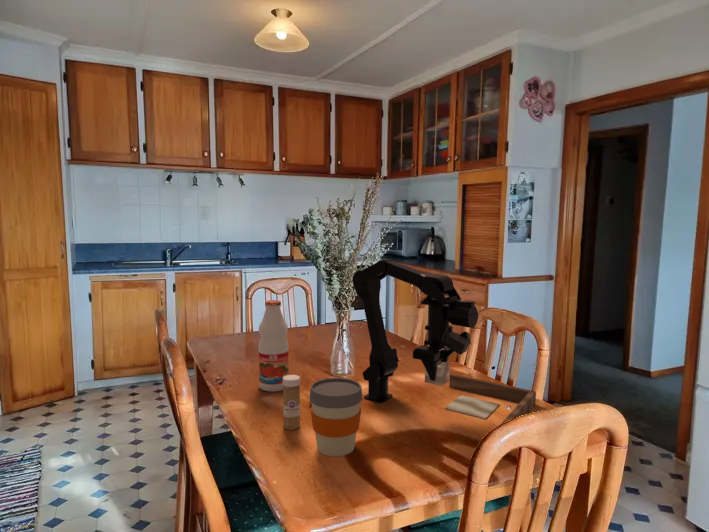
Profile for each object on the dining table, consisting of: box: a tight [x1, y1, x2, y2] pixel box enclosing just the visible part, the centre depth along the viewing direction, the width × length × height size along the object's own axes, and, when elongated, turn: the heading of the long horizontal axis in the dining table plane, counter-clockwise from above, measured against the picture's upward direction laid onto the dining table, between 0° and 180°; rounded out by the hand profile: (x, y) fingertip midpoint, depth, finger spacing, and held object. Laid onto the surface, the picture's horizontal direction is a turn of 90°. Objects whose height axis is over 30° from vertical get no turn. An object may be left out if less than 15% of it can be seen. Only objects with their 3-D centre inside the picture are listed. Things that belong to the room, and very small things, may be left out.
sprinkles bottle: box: [282, 374, 301, 431], centre depth 124 cm, size 5×5×14 cm
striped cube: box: [424, 361, 451, 387], centre depth 131 cm, size 5×5×5 cm
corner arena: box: [444, 373, 537, 425], centre depth 136 cm, size 28×26×4 cm
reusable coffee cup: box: [309, 377, 363, 457], centre depth 113 cm, size 13×12×15 cm
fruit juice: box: [258, 299, 290, 393], centre depth 152 cm, size 9×9×28 cm
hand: (437, 377), depth 131 cm, fingers closed on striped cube, 5 cm apart
